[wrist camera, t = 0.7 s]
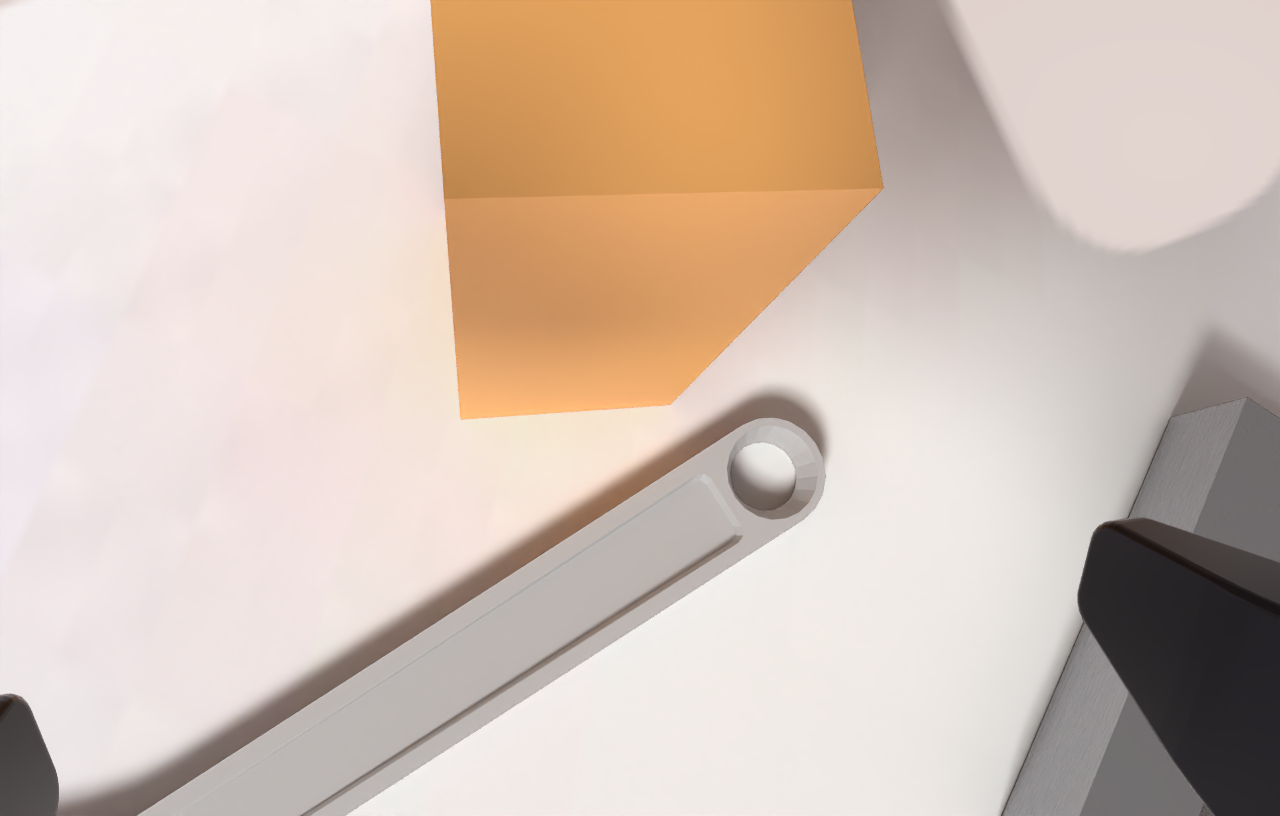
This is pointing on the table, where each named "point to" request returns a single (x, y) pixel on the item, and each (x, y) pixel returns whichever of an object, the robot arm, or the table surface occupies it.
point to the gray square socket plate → (1089, 686)
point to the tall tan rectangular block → (636, 184)
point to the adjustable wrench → (508, 639)
